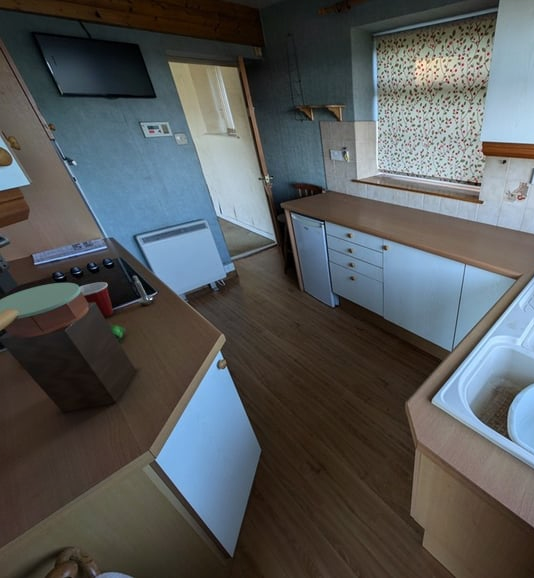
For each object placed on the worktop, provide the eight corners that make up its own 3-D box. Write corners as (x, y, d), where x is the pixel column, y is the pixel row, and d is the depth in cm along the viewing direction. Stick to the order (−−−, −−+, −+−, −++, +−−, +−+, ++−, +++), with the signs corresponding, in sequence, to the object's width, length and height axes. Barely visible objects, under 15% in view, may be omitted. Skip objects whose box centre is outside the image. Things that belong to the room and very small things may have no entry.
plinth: (56, 415, 75) (-27, 323, 60) (87, 376, 86) (24, 289, 71) (118, 404, 78) (54, 314, 63) (140, 367, 90) (90, 283, 74)
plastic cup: (120, 303, 119) (106, 277, 113) (122, 315, 112) (107, 288, 106) (85, 313, 113) (68, 286, 107) (84, 326, 106) (66, 299, 100)
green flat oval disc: (25, 292, 72) (17, 281, 70) (95, 285, 75) (89, 274, 73) (-89, 365, 50) (-104, 353, 49) (16, 351, 54) (6, 339, 52)
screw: (141, 308, 116) (139, 303, 119) (155, 303, 119) (153, 298, 122) (126, 279, 109) (125, 275, 112) (142, 276, 112) (140, 271, 115)
